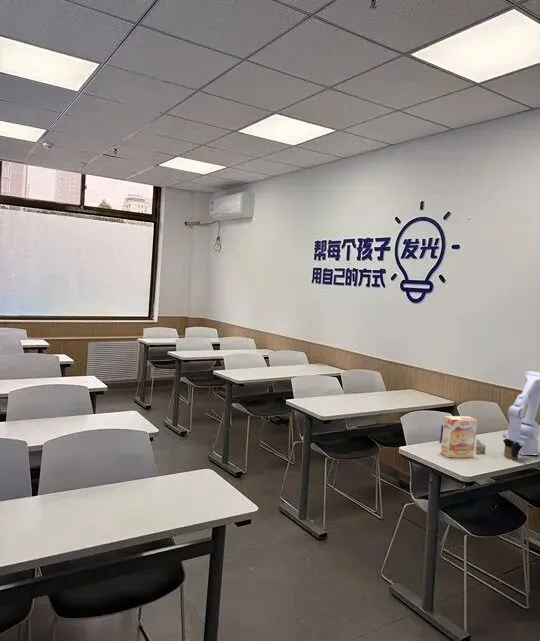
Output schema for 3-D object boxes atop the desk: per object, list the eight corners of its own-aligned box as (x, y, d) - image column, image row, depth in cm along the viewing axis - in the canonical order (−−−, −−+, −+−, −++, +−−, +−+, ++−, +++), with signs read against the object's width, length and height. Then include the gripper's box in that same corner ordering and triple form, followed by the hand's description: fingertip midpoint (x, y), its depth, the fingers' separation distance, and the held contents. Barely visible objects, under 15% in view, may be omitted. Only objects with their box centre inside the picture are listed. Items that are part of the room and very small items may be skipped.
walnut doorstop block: (512, 456, 268) (513, 446, 267) (517, 459, 264) (518, 448, 263) (504, 456, 267) (506, 446, 266) (509, 459, 263) (511, 448, 262)
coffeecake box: (448, 457, 257) (452, 419, 256) (439, 453, 264) (443, 415, 262) (474, 457, 261) (478, 419, 260) (465, 452, 268) (469, 415, 266)
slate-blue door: (485, 453, 268) (486, 446, 268) (482, 453, 268) (483, 445, 268) (478, 446, 281) (479, 438, 281) (475, 445, 281) (476, 438, 281)
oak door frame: (505, 453, 272) (506, 446, 272) (507, 454, 270) (508, 447, 270) (474, 453, 269) (475, 445, 268) (476, 454, 267) (477, 446, 267)
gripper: (498, 425, 270) (495, 450, 271) (517, 433, 256) (513, 460, 257) (510, 425, 272) (507, 450, 273) (529, 433, 258) (526, 460, 259)
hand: (511, 455), depth 265 cm, fingers closed on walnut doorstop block, 4 cm apart
